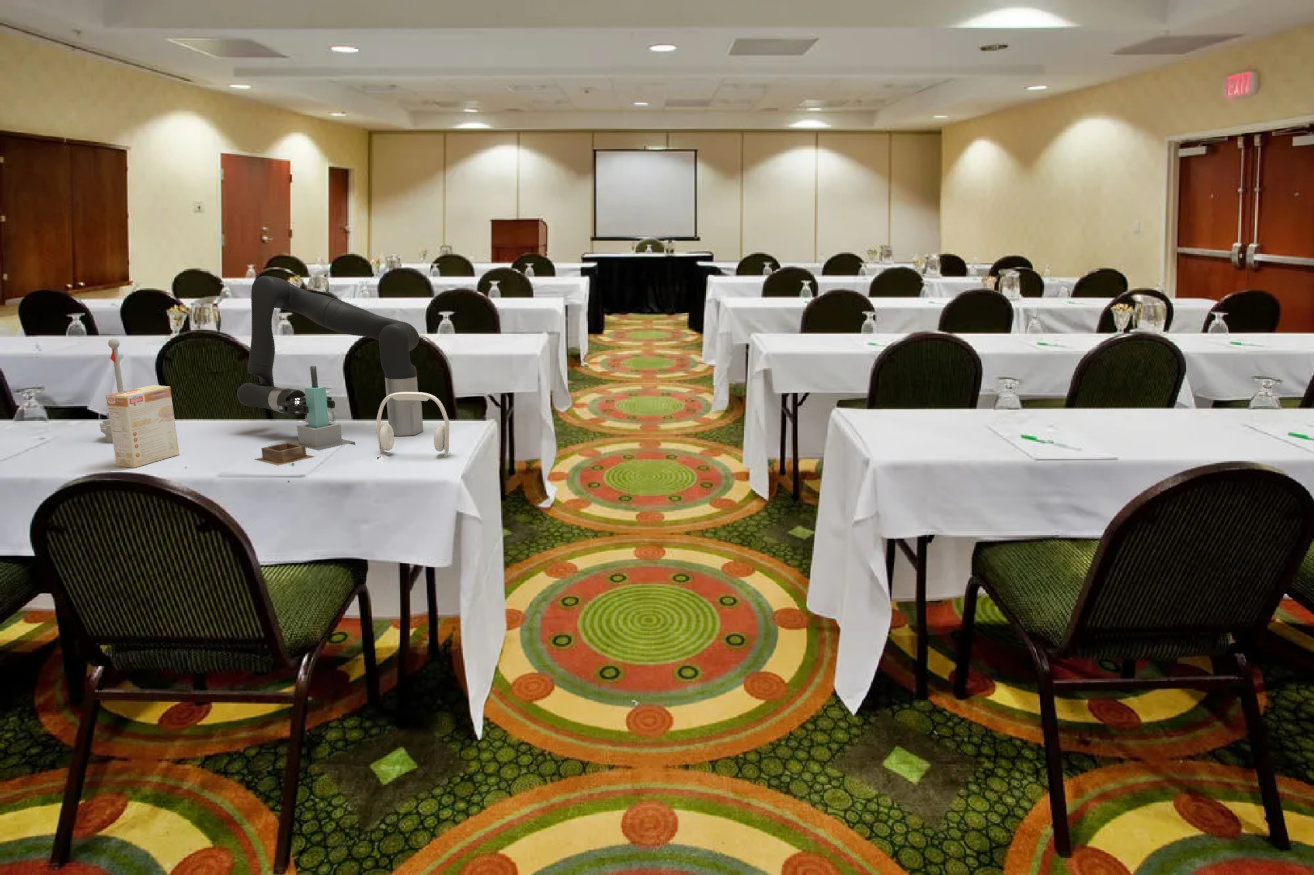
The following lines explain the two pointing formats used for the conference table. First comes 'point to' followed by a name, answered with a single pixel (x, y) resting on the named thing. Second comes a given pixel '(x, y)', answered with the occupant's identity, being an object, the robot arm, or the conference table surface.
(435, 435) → the headset
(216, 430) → the conference table surface
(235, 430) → the conference table surface
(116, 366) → the flag stand
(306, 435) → the box
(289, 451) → the brown open square box
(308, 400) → the plug
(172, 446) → the coffeecake box
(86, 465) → the conference table surface
